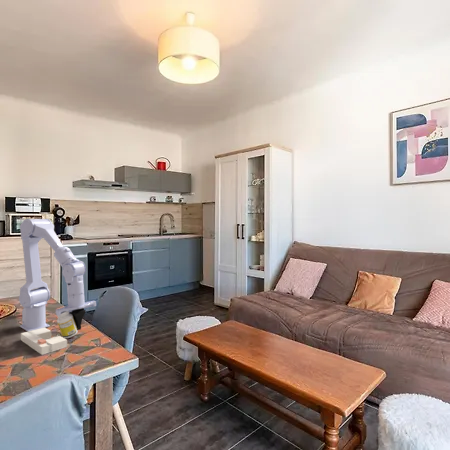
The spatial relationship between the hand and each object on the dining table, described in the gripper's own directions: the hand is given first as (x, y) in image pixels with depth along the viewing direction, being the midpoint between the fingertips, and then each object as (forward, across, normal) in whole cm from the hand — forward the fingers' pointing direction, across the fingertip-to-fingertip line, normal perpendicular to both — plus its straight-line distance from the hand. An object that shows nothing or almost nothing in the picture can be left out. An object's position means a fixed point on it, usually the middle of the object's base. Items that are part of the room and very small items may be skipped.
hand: (78, 329), depth 119 cm
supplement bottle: (+2, -2, +1) cm, 3 cm away
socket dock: (+2, -12, +2) cm, 12 cm away
